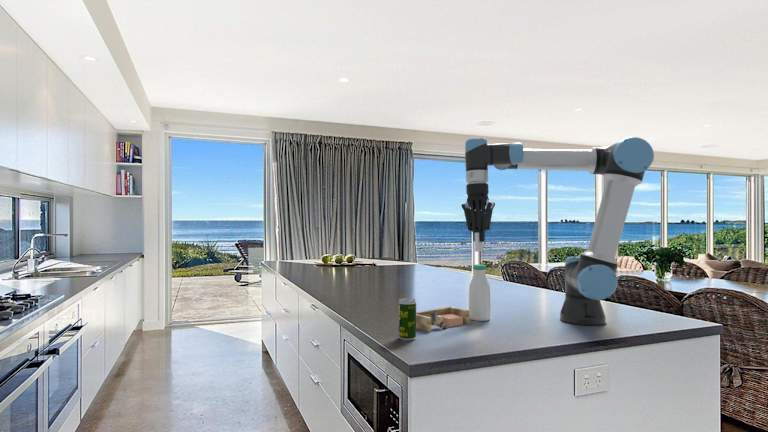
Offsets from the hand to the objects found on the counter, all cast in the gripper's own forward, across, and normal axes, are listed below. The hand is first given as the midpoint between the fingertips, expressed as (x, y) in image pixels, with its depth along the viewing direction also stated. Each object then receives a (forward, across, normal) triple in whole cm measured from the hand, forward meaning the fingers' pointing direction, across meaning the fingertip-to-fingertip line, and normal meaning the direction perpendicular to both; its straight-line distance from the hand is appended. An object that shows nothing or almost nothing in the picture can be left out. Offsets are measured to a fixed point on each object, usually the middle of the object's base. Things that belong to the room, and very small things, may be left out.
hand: (479, 251), depth 160 cm
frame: (+25, -10, -10) cm, 29 cm away
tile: (+26, -8, -7) cm, 28 cm away
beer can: (+25, -4, -32) cm, 41 cm away
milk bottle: (+26, -7, +7) cm, 28 cm away
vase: (+26, -7, -15) cm, 30 cm away
